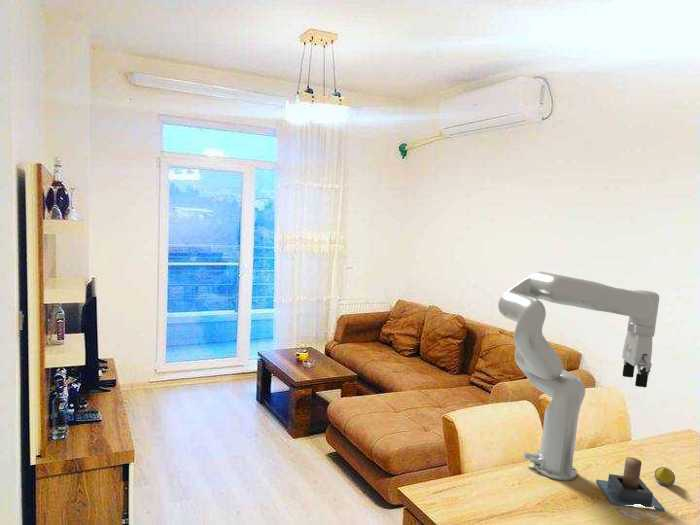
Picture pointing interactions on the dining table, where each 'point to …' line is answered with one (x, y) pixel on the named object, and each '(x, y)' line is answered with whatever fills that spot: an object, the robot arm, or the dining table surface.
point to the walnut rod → (631, 473)
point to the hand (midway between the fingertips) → (634, 381)
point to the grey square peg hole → (628, 493)
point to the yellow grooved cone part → (664, 476)
